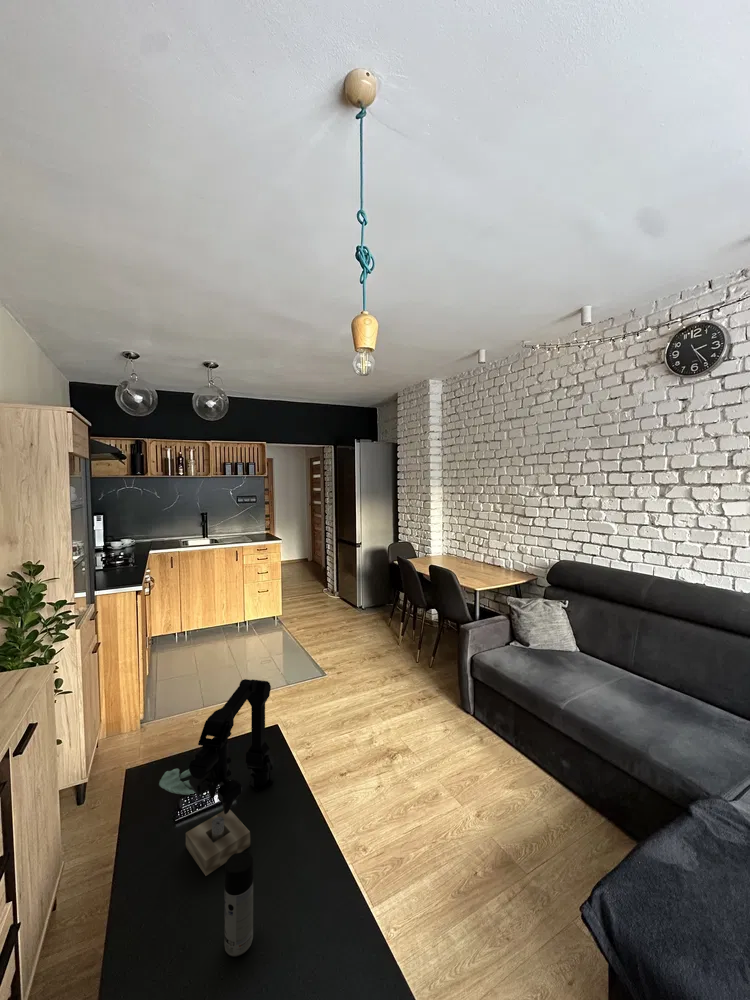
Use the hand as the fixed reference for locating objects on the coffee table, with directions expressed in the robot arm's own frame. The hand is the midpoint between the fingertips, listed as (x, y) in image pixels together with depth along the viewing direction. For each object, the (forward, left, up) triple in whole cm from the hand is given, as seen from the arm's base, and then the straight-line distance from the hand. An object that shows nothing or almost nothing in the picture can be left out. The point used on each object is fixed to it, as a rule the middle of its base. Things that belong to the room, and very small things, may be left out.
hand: (219, 805), depth 130 cm
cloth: (-5, -35, -13) cm, 38 cm away
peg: (+1, +1, -12) cm, 12 cm away
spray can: (+10, +31, -12) cm, 35 cm away
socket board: (+1, +1, -12) cm, 12 cm away
